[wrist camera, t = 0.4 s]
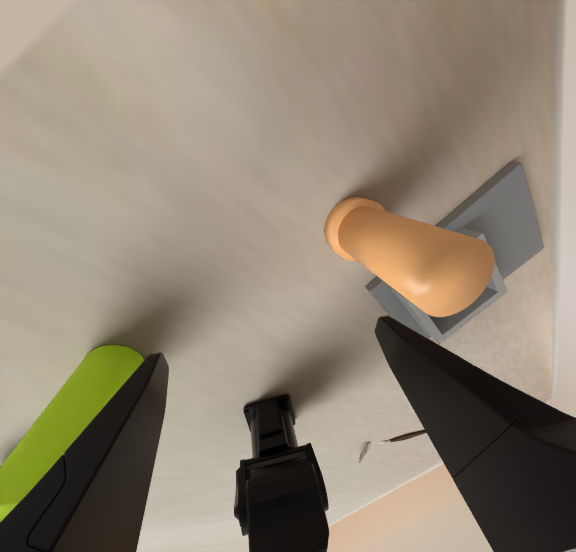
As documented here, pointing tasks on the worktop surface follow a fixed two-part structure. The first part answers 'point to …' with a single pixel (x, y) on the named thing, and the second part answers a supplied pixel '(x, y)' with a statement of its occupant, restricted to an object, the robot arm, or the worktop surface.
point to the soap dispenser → (65, 420)
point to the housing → (485, 226)
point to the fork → (392, 441)
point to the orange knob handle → (412, 255)
